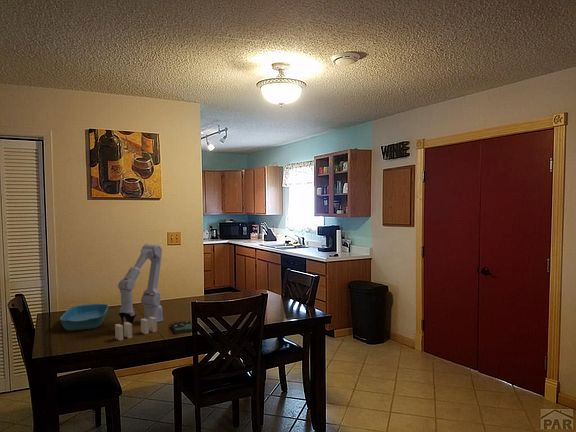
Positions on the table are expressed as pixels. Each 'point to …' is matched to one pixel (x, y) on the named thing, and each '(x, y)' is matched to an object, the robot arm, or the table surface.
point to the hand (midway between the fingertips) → (127, 326)
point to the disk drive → (181, 327)
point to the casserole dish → (84, 316)
